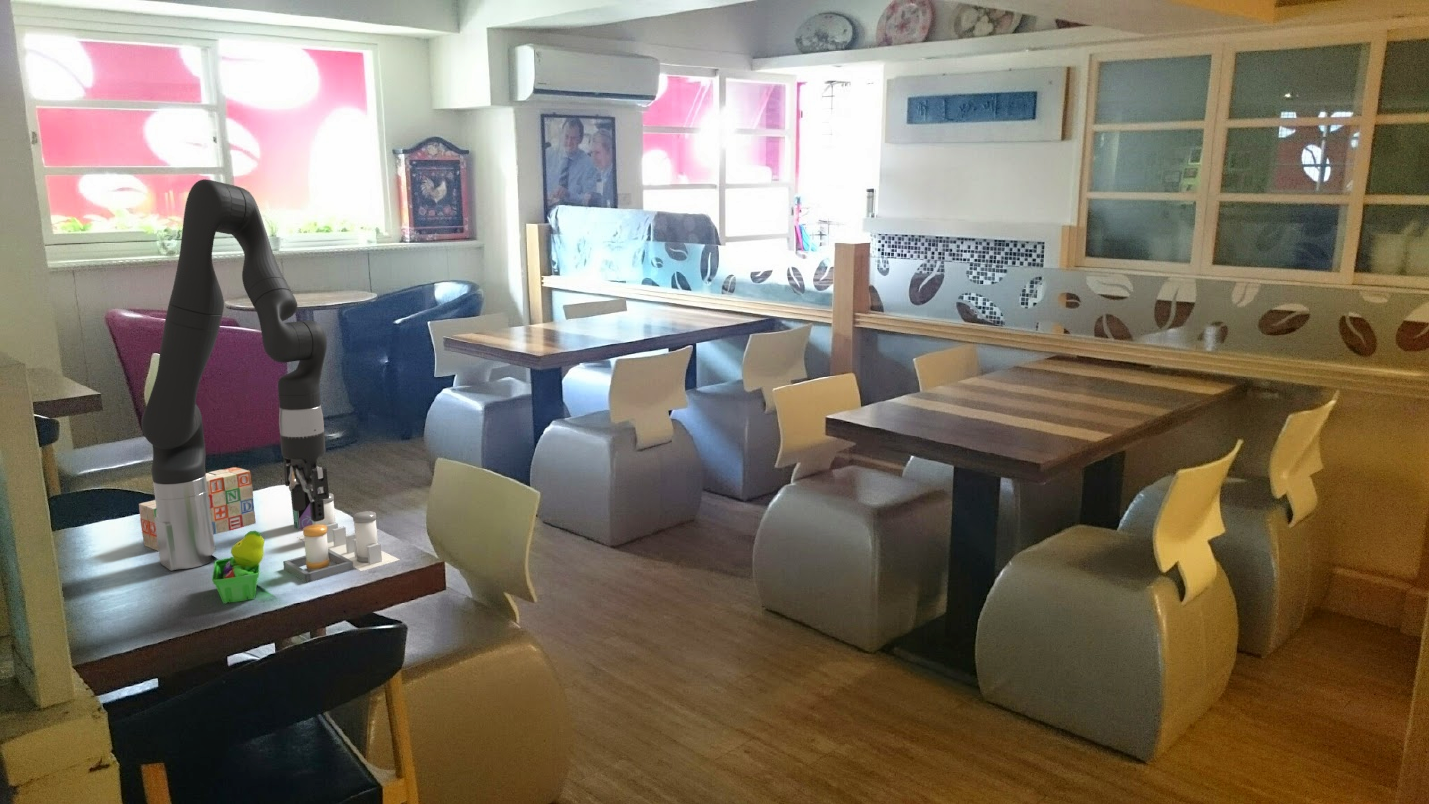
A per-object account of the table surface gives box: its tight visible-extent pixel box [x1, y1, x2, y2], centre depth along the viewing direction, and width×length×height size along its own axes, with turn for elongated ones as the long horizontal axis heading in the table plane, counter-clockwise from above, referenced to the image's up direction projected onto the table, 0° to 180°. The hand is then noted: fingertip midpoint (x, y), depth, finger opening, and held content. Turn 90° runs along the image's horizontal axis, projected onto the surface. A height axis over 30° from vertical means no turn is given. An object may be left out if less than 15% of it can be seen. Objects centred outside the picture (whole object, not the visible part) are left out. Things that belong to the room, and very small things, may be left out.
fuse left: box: [315, 492, 337, 525], centre depth 210 cm, size 4×4×9 cm
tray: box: [282, 549, 355, 583], centre depth 194 cm, size 9×10×3 cm
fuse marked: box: [302, 524, 330, 572], centre depth 193 cm, size 4×4×9 cm
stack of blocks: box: [138, 466, 257, 552], centre depth 218 cm, size 21×6×12 cm, turn 144°
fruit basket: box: [211, 530, 265, 604], centre depth 186 cm, size 11×9×11 cm
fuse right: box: [352, 510, 379, 563], centre depth 197 cm, size 4×4×9 cm
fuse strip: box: [297, 521, 401, 572], centre depth 204 cm, size 8×28×5 cm, turn 45°
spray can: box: [290, 489, 319, 530], centre depth 217 cm, size 6×6×20 cm
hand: (308, 515), depth 190 cm, fingers open, 8 cm apart
